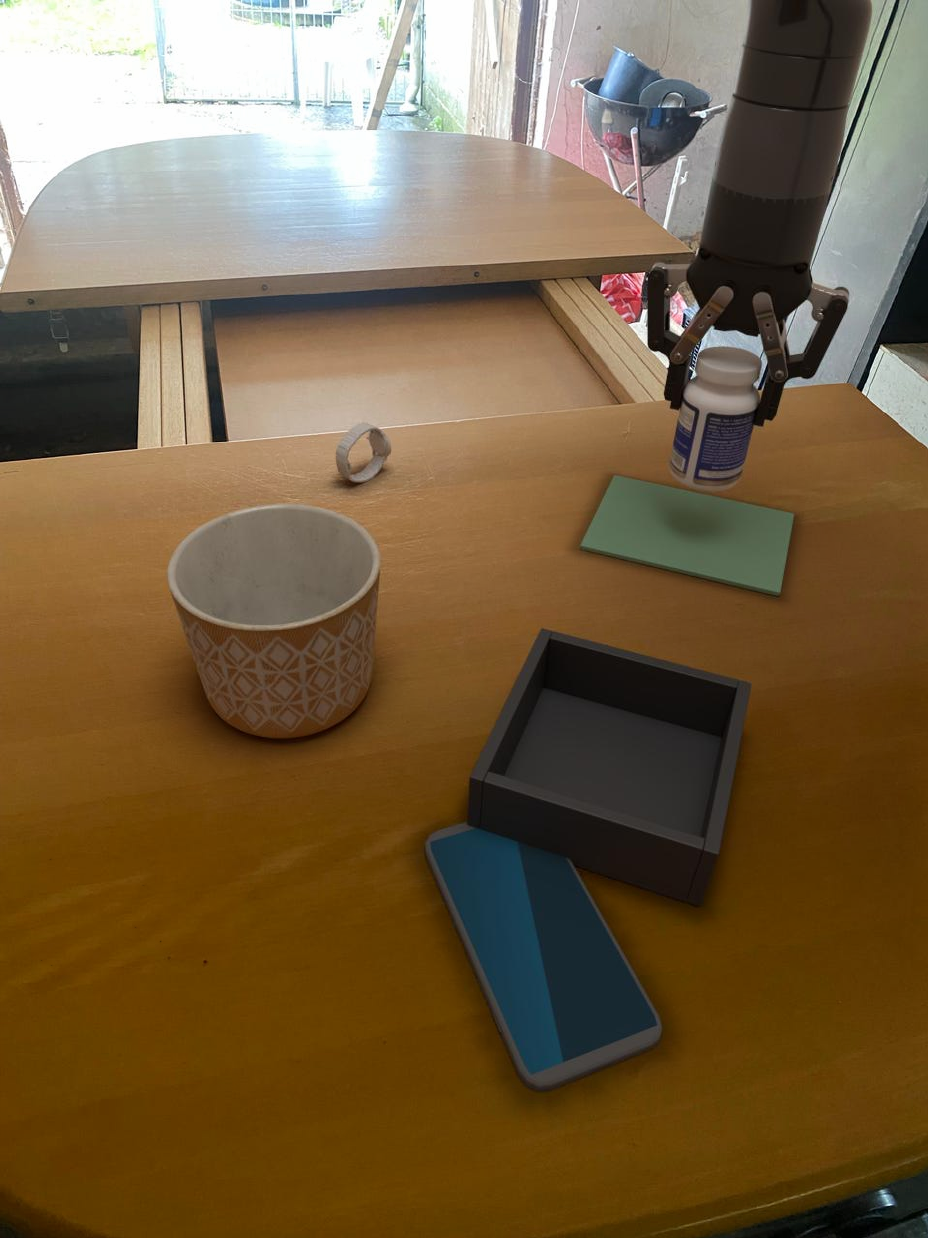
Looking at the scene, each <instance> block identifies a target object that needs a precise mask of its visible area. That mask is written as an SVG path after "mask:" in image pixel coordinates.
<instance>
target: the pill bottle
mask: <svg viewBox="0 0 928 1238" xmlns="http://www.w3.org/2000/svg"><path fill="white" fill-rule="evenodd" d="M762 365H763V361H762V359H761V358H760V356H758V355H757V354H755V353H753V352H751V351H749V350H747V349H744V348H739V347H734V346H724V345H723V346H721V345H719V346H711V347H707V348H704V349H702V350H700V351H699V352H698V354H697V357H696V361H695V365H694V372H695V374H696V375H695V376H693V377H691V378H690V379H689V380H688V381H687V384H686V386H685V388H684V391H683V395H682V400H681V406H680V409H679V410H678V417H677V421H676V426H675V430H674V431H675V432H674V437H673V442H672V447H671V452H670V458H669V459H670V460H669V465H668V468H669V469H668V470H669V473H670V475H671V476H672V478H673V479H674V480H675V481H676V482H678V483H679V484H681V485H683V486H685V487H686V488H690V489H692V490H696V491H701V492H710V493H715V492H722V491H726V490H729V489H732V488H733V487H735V486H736V485H737V484H738V483H739V481H740V480H741V477H742V474H743V470H744V467H745V463H746V458H747V456H748V455H747V454H748V451H749V447H750V443H751V438H752V434H753V431H754V427H755V425H754V422H755V418H756V414H757V411H758V407H759V403H760V399H761V395H760V393H759V390H758V388H757V387H756V386H755V385H754V384H755V383H756V382H758V380H759V379H760V376H761V371H762Z"/></svg>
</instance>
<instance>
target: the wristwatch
mask: <svg viewBox="0 0 928 1238" xmlns="http://www.w3.org/2000/svg"><path fill="white" fill-rule="evenodd" d="M368 432H369V433H368ZM366 433H368V436H366V437H365V439H366V440H368V443H369V445H370V448H371V450H372V452H371V455H372V457H371V459H370V461H369V462H368V464H367V465H366V467H365V468H364V469H362V470H361V471H360V472H357V473H355V474H351V473H350V471H352V464H351V462H350V460H349V454H350V451H351V450H352V449H353V446H355V444H356V443H357V441H359V439H360V438H361V437H362V436H364V435H365V434H366ZM391 453H392V443H391V441H390V439H389V437H388V436H387V434H386V433H385V432H384V431H383V430H381V429H380V428H379V427H377V426H375V425H373V424H371V423H368V422H365V421H364V422H360V423H357V424H356V425H354V426H352V427H351V428H349V429H348V431H347V432H346V433H345V435H343V437H342V438H341V439H340V440H339V442H338V443H337V446H336V449H335V463H336V468H337V472H338V473H339V475H340V476H341V477H343V478H346V479H347V480H349V481H351V482H354V483H364V482H368V481H370V480H372V479H374V477H376V476H377V474H379V472H380V470H381V469H382V467H383V466H384V463H385V462H386V461H387V460H388V457H389V456H390V455H391Z"/></svg>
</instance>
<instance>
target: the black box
mask: <svg viewBox="0 0 928 1238" xmlns="http://www.w3.org/2000/svg"><path fill="white" fill-rule="evenodd" d="M752 684H753V683H752V682H749V681H744V680H741V679H737V678H734V677H730V676H726V675H722V674H718V673H714V672H712V671H708V670H703V669H700V668H695V667H692V666H688V665H684V664H680V663H676V662H673V661H672V662H671V661H670V660H665V659H662V658H658V657H653V656H649V655H646V654H642V653H638V652H635V651H632V650H631V651H630V650H627V649H623V648H619V647H615V646H611V645H608V644H606V643H605V644H604V643H600V642H597V641H593V640H589V639H585V638H582V637H578V636H574V635H570V634H566V633H562V632H559V631H555V630H551V629H547V628H543V627H541V628H540V631H539V632H538V634H537V636H536V638H535V639H534V642H533V644H532V646H531V648H530V650H529V652H528V655H527V657H526V659H525V661H524V663H523V665H522V667H521V668H520V671H519V673H518V675H517V678H516V680H515V682H514V684H513V686H512V688H511V690H510V692H509V694H508V696H507V698H506V700H505V701H504V704H503V706H502V708H501V711H500V712H499V714H498V717H497V719H496V721H495V723H494V726H493V727H492V729H491V732H490V734H489V735H488V738H487V739H486V742H485V744H484V745H483V748H482V749H481V752H480V753H479V756H478V758H477V761H476V763H475V765H474V767H473V769H472V770H471V773H470V775H469V780H468V800H467V815H466V816H467V818H466V822H467V825H468V826H471V827H474V828H477V829H481V830H484V831H487V832H490V833H493V834H496V835H499V836H502V837H505V838H508V839H511V840H514V841H517V842H520V843H523V844H526V845H529V846H532V847H535V848H538V849H541V850H545V851H548V852H551V853H554V854H557V855H560V856H563V857H566V858H568V859H570V860H571V861H572V863H573V865H574V867H575V868H579V869H583V870H586V871H589V872H591V873H595V874H598V875H601V876H604V877H607V878H610V879H613V880H616V881H619V882H622V883H625V884H629V885H631V886H634V887H637V888H641V889H643V890H647V891H650V892H653V893H656V894H659V895H662V896H665V897H667V898H671V899H673V900H677V901H680V902H683V903H686V904H689V905H692V906H695V907H698V908H701V907H702V904H703V901H704V898H705V896H706V893H707V889H708V887H709V884H710V881H711V878H712V875H713V872H714V869H715V867H716V863H717V861H718V859H719V856H720V852H721V851H720V850H721V847H722V846H721V845H722V840H723V837H724V836H723V835H724V830H725V825H726V820H727V814H728V810H729V809H728V808H729V805H730V804H729V803H730V798H731V793H732V790H733V782H734V779H735V773H736V767H737V762H738V758H739V752H740V748H741V742H742V736H743V732H744V731H743V730H744V726H745V720H746V717H747V716H746V715H747V711H748V705H749V700H750V695H751V690H752Z"/></svg>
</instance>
